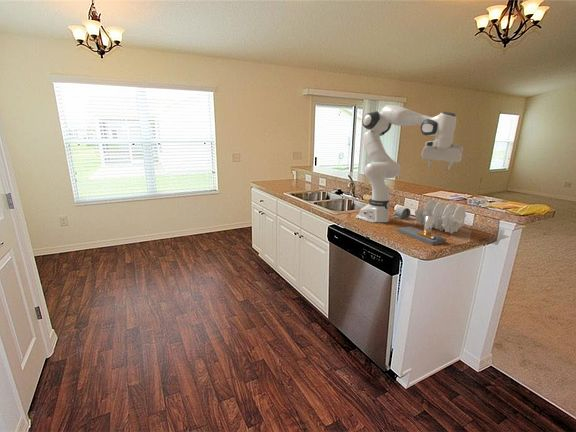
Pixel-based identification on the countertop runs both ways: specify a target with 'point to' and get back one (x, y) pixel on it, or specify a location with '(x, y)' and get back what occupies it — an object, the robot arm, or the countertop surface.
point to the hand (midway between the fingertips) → (438, 168)
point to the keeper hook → (437, 237)
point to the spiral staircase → (442, 215)
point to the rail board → (413, 233)
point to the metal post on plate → (427, 228)
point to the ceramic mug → (402, 213)
